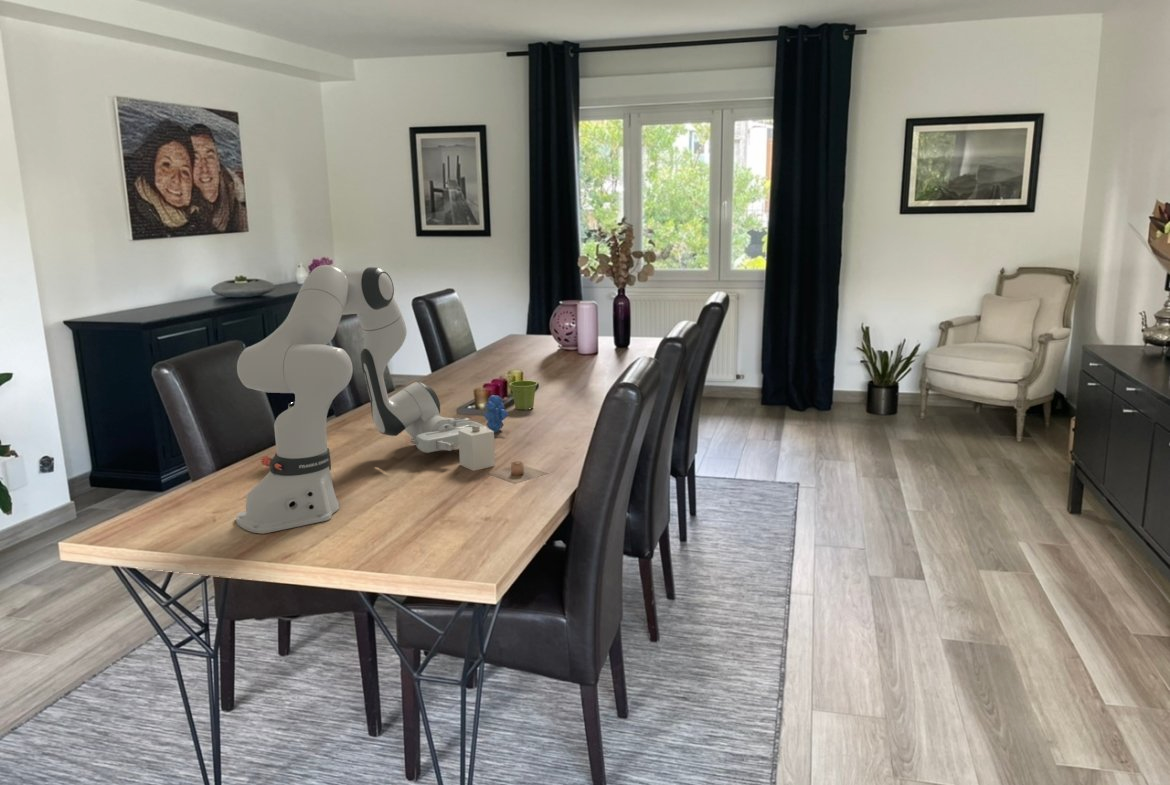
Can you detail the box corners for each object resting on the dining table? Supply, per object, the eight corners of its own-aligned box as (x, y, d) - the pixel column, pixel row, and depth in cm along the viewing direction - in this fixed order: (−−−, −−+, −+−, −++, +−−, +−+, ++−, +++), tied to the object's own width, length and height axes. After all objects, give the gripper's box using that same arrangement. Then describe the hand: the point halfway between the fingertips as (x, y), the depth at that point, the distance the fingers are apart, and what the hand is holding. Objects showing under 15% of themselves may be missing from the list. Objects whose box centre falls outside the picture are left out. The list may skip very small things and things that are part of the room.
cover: (473, 472, 223) (471, 431, 220) (459, 466, 228) (458, 426, 225) (495, 467, 227) (493, 426, 224) (481, 461, 232) (479, 421, 229)
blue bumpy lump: (501, 438, 255) (500, 399, 253) (480, 437, 257) (479, 398, 254) (515, 428, 266) (514, 390, 263) (495, 427, 268) (494, 389, 265)
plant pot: (506, 406, 293) (505, 382, 291) (532, 403, 297) (531, 379, 295) (516, 413, 285) (515, 387, 283) (542, 409, 289) (541, 384, 287)
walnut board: (514, 488, 213) (514, 483, 212) (487, 478, 220) (487, 473, 220) (548, 477, 220) (548, 473, 220) (520, 468, 228) (520, 464, 227)
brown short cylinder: (516, 476, 218) (516, 465, 217) (508, 473, 220) (508, 462, 219) (526, 473, 220) (526, 462, 219) (518, 470, 222) (518, 460, 221)
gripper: (407, 428, 233) (432, 439, 222) (471, 416, 245) (498, 426, 235) (408, 451, 234) (433, 463, 224) (472, 437, 247) (499, 448, 236)
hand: (467, 444), depth 229 cm, fingers open, 8 cm apart
